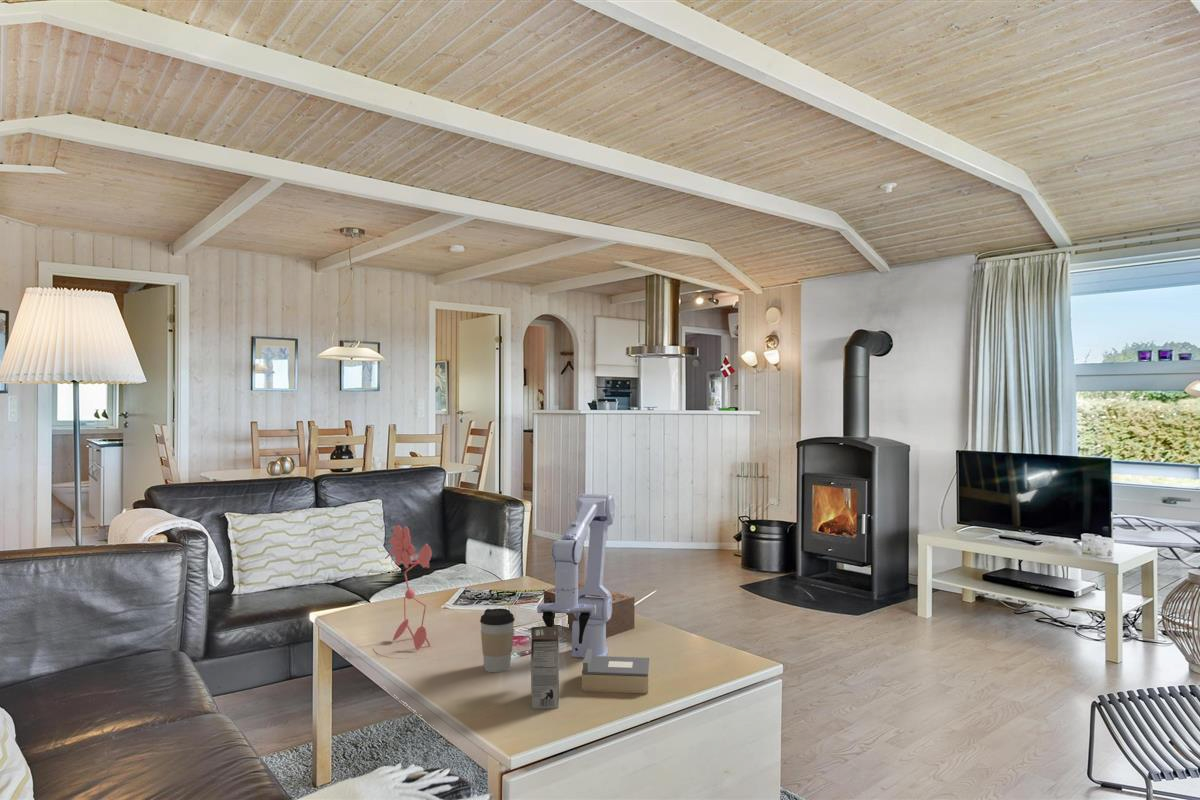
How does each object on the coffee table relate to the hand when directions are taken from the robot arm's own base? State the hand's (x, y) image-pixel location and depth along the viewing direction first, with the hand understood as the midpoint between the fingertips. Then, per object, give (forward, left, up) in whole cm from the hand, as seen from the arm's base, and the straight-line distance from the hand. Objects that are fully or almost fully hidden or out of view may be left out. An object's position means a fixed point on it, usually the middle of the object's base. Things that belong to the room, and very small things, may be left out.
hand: (566, 642), depth 183 cm
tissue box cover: (+1, +47, -10) cm, 48 cm away
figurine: (-50, +21, -10) cm, 56 cm away
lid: (+13, 0, -6) cm, 14 cm away
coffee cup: (-19, +8, -10) cm, 23 cm away
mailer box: (+13, 0, -10) cm, 16 cm away
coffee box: (-3, -12, -10) cm, 16 cm away
